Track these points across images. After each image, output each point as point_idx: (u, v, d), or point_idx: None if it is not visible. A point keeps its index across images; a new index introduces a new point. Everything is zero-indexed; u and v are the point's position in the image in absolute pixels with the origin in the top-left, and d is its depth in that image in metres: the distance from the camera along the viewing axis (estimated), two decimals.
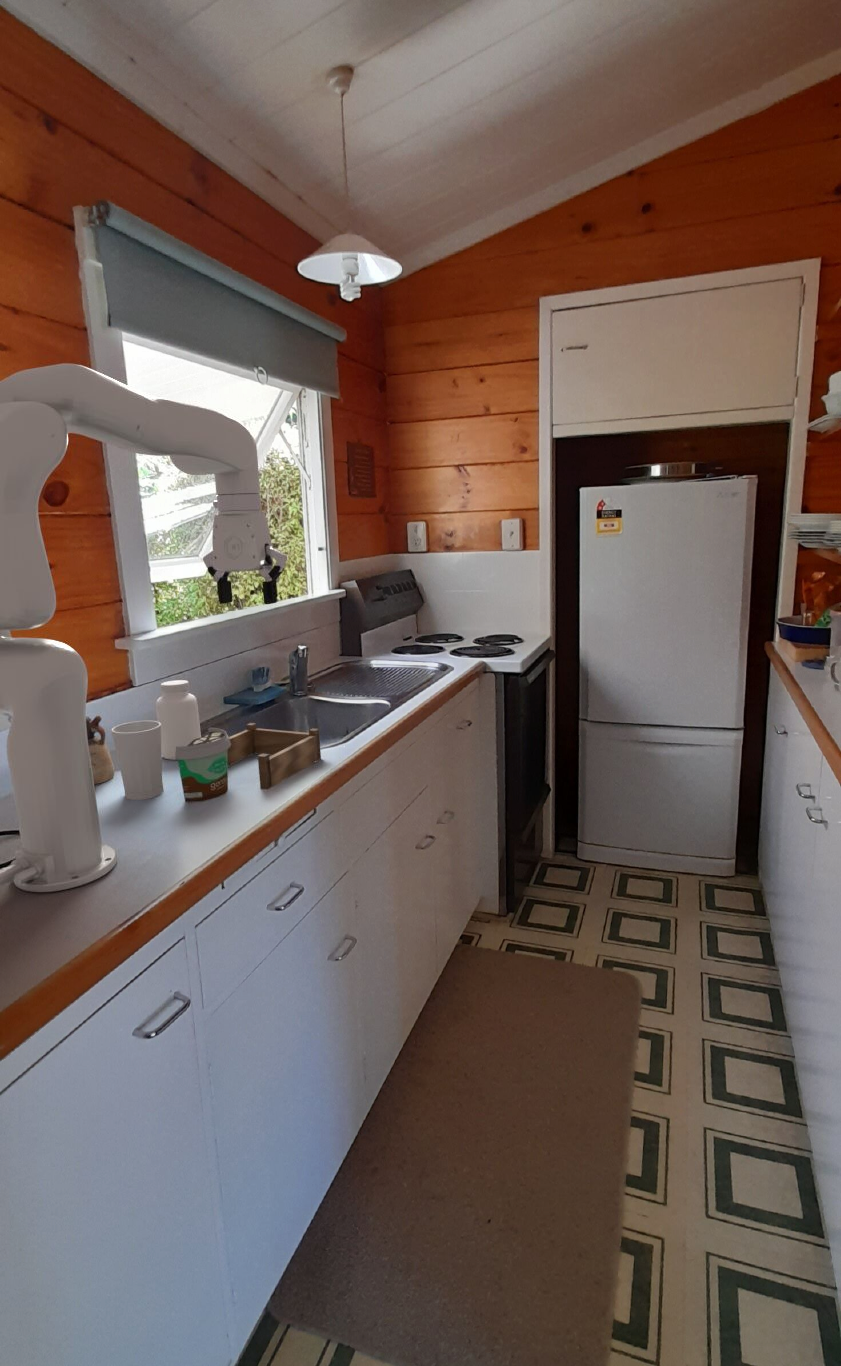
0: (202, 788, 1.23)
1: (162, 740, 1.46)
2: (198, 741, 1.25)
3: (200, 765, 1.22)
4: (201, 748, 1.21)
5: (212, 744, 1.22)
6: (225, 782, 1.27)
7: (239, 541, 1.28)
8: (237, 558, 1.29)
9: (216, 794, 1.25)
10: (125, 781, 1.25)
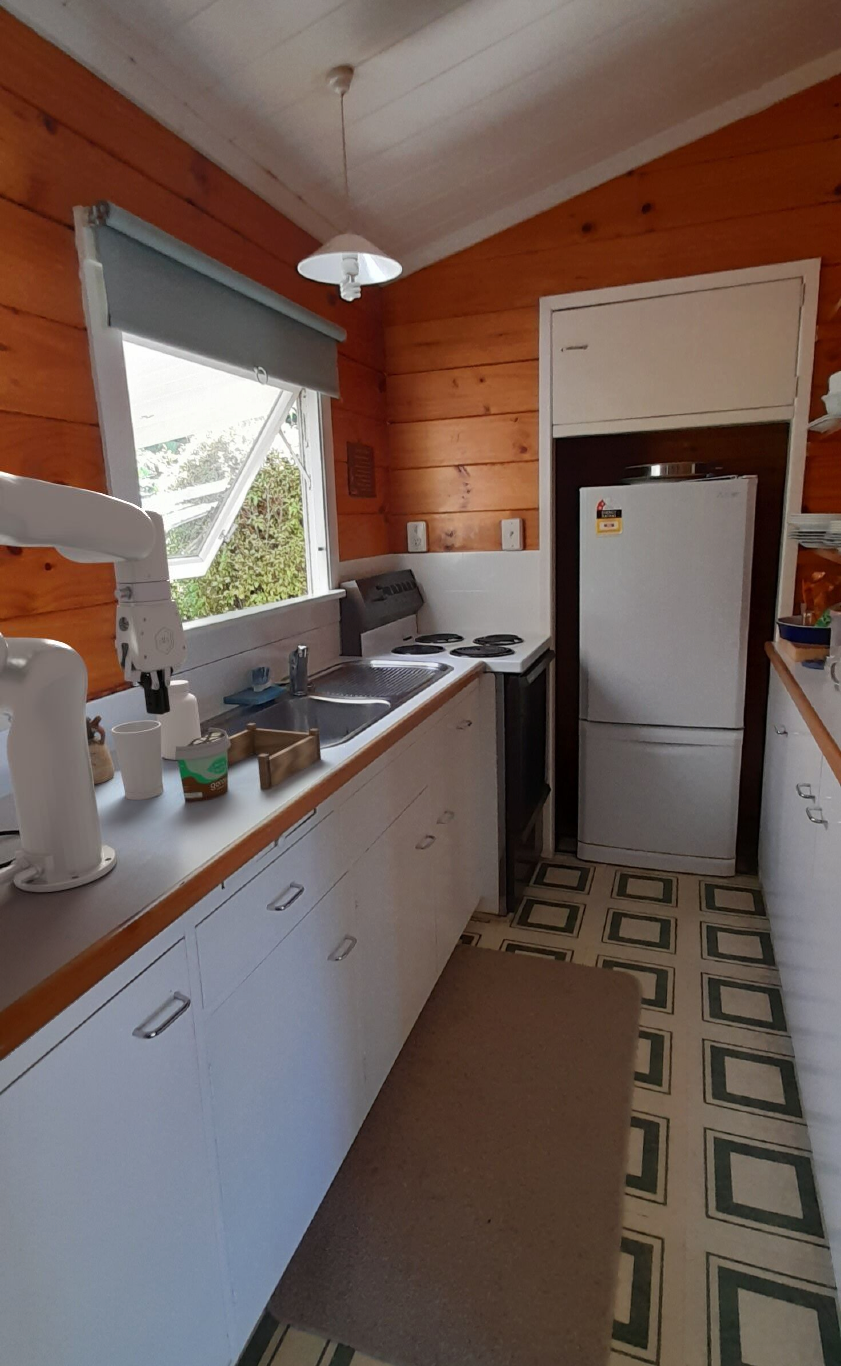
0: (202, 788, 1.23)
1: (162, 740, 1.46)
2: (198, 741, 1.25)
3: (200, 765, 1.22)
4: (201, 748, 1.21)
5: (212, 744, 1.22)
6: (225, 782, 1.27)
7: (170, 633, 1.11)
8: (169, 652, 1.11)
9: (216, 794, 1.25)
10: (125, 781, 1.25)
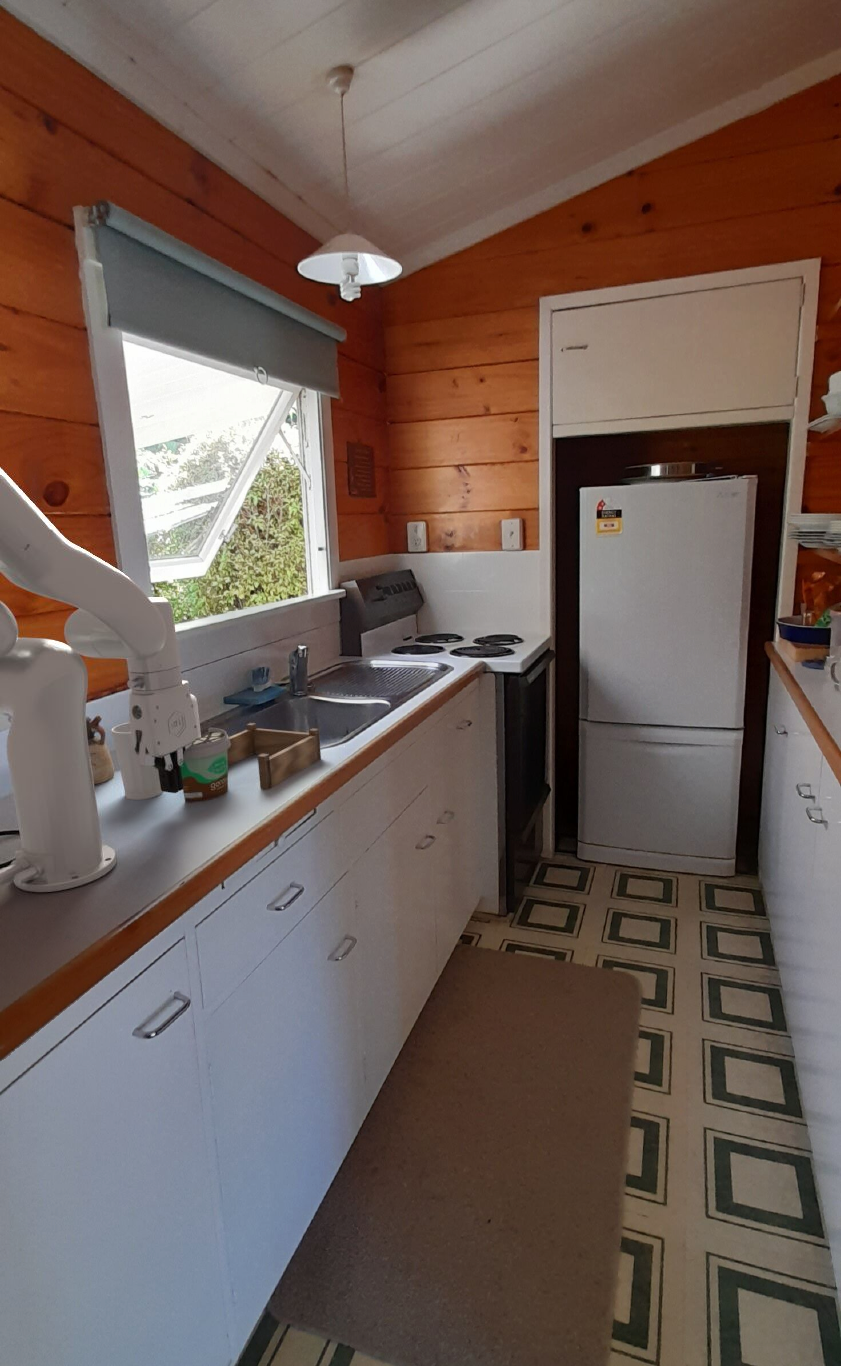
0: (202, 788, 1.23)
1: None
2: (198, 741, 1.25)
3: (200, 765, 1.22)
4: (201, 748, 1.21)
5: (212, 744, 1.22)
6: (225, 782, 1.27)
7: (182, 715, 1.15)
8: (181, 734, 1.15)
9: (216, 794, 1.25)
10: (125, 781, 1.25)
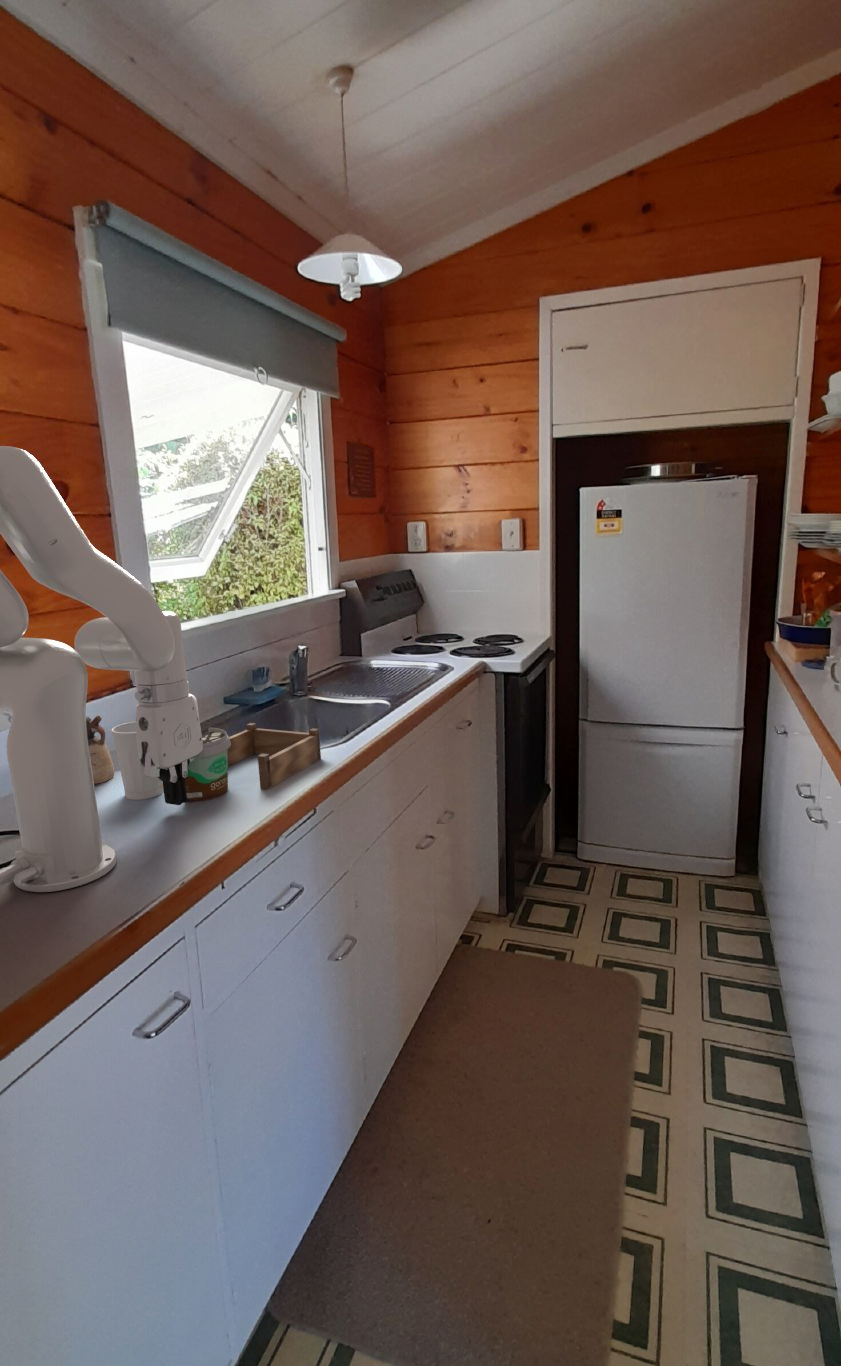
0: (202, 788, 1.23)
1: None
2: None
3: (200, 765, 1.22)
4: None
5: (212, 744, 1.22)
6: (225, 782, 1.27)
7: (187, 728, 1.16)
8: (186, 747, 1.16)
9: (216, 794, 1.25)
10: (125, 781, 1.25)
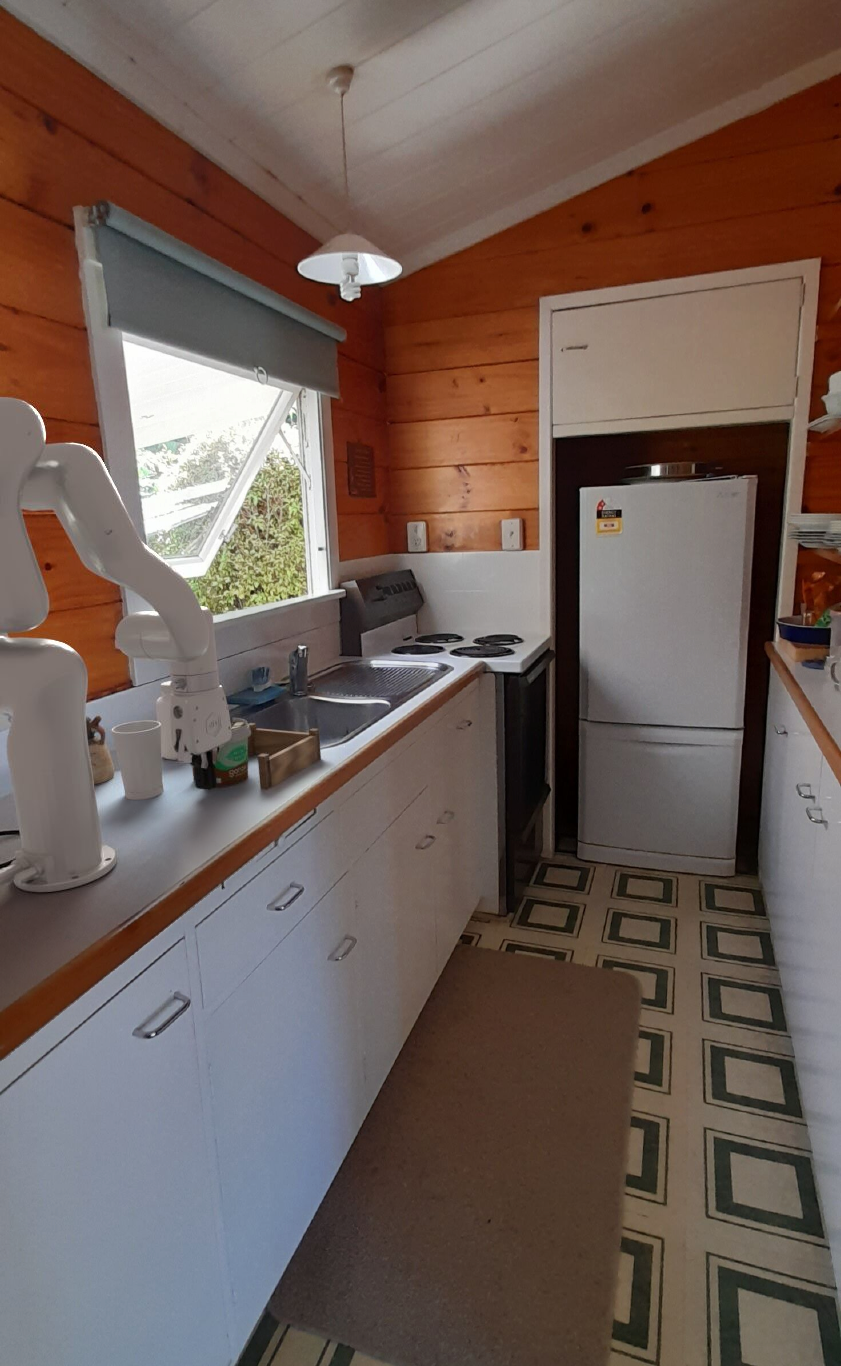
0: (221, 775, 1.29)
1: (162, 740, 1.46)
2: None
3: (219, 752, 1.28)
4: None
5: None
6: (244, 770, 1.33)
7: (218, 717, 1.23)
8: (217, 734, 1.23)
9: (235, 781, 1.31)
10: (125, 781, 1.25)
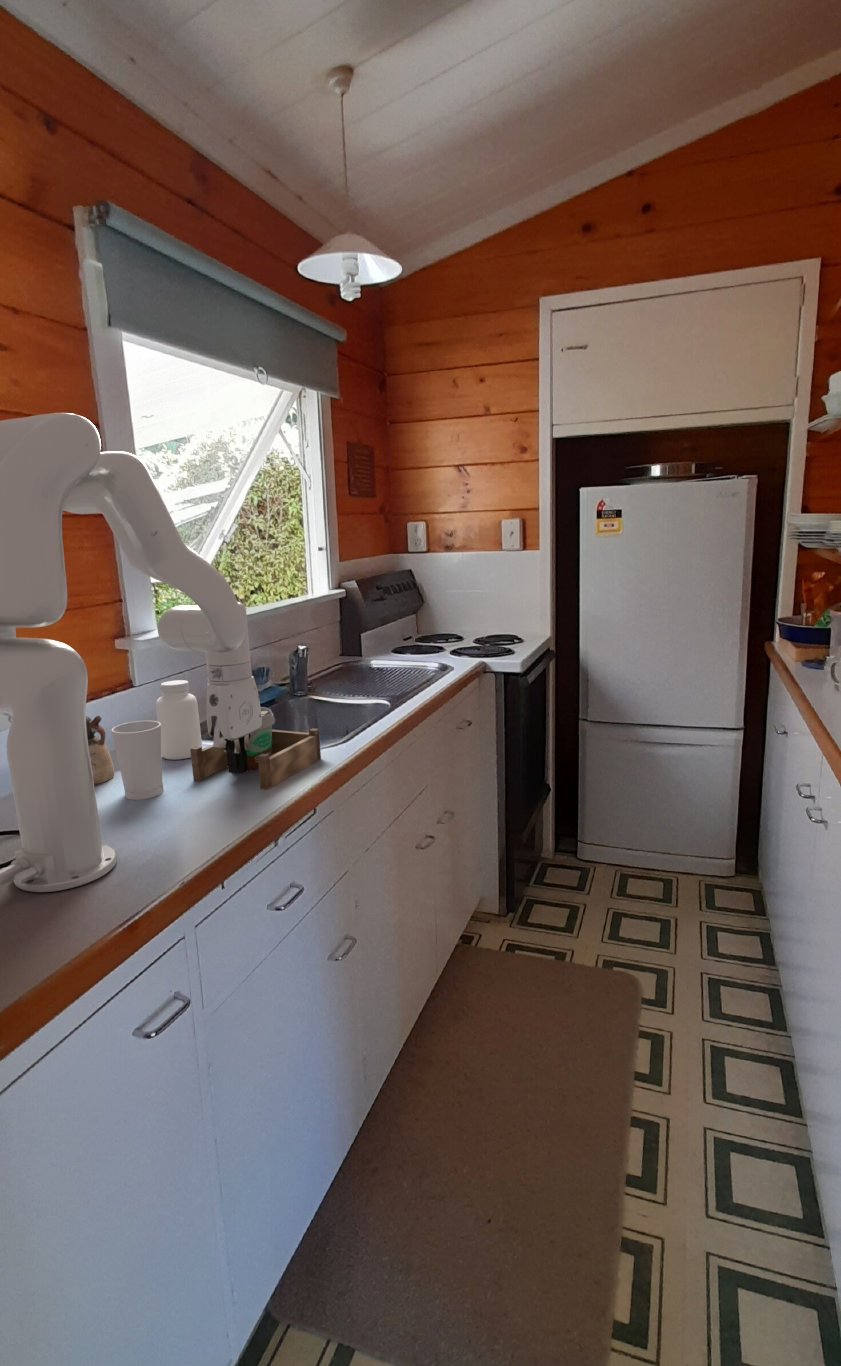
0: (247, 760, 1.37)
1: (162, 740, 1.46)
2: None
3: None
4: None
5: None
6: (269, 756, 1.41)
7: (250, 705, 1.31)
8: (249, 722, 1.31)
9: None
10: (125, 781, 1.25)
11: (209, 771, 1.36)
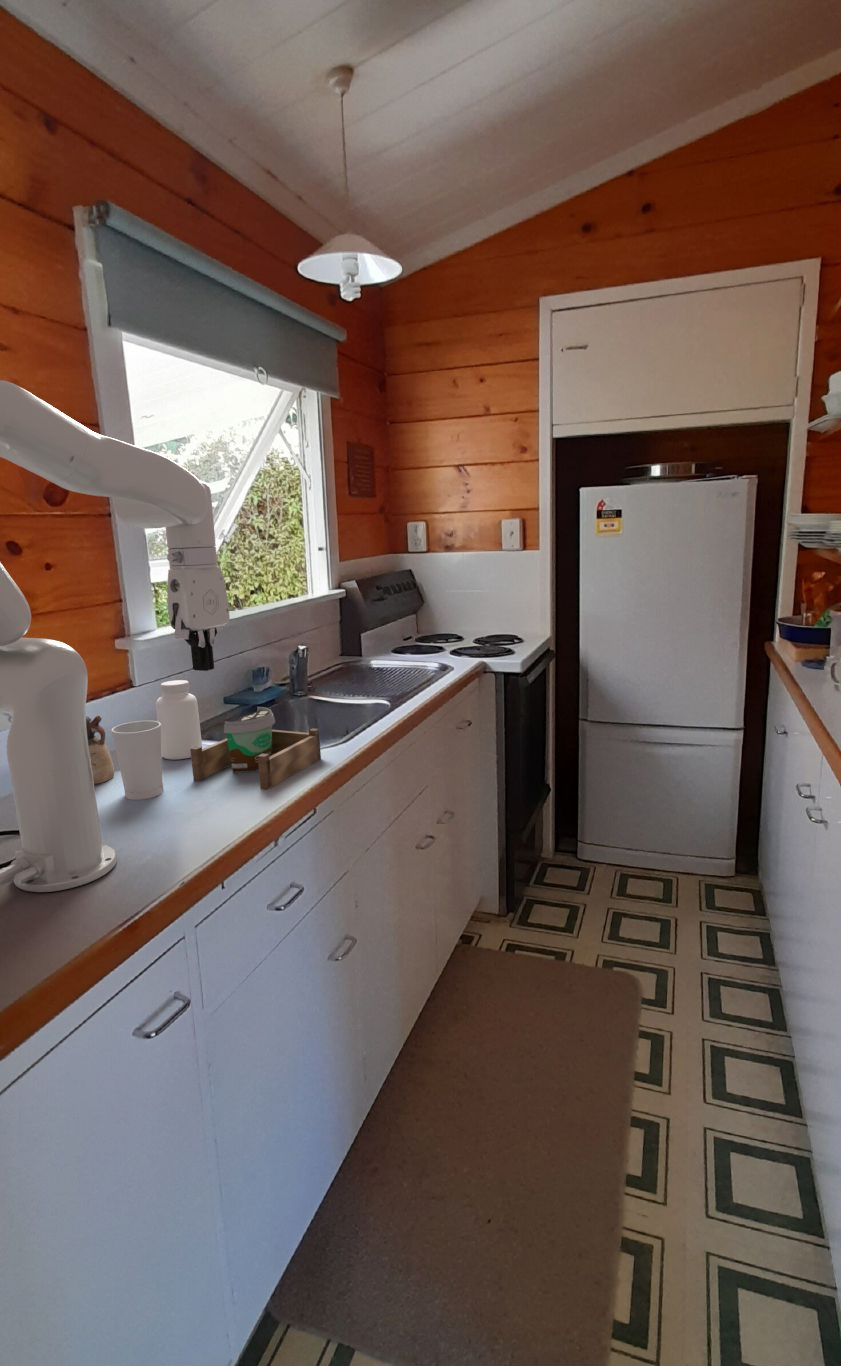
0: (247, 760, 1.37)
1: (162, 740, 1.46)
2: (245, 717, 1.40)
3: (245, 739, 1.36)
4: (246, 724, 1.35)
5: (257, 721, 1.36)
6: (269, 756, 1.41)
7: (216, 596, 1.22)
8: (214, 613, 1.21)
9: None
10: (125, 781, 1.25)
11: (209, 771, 1.36)
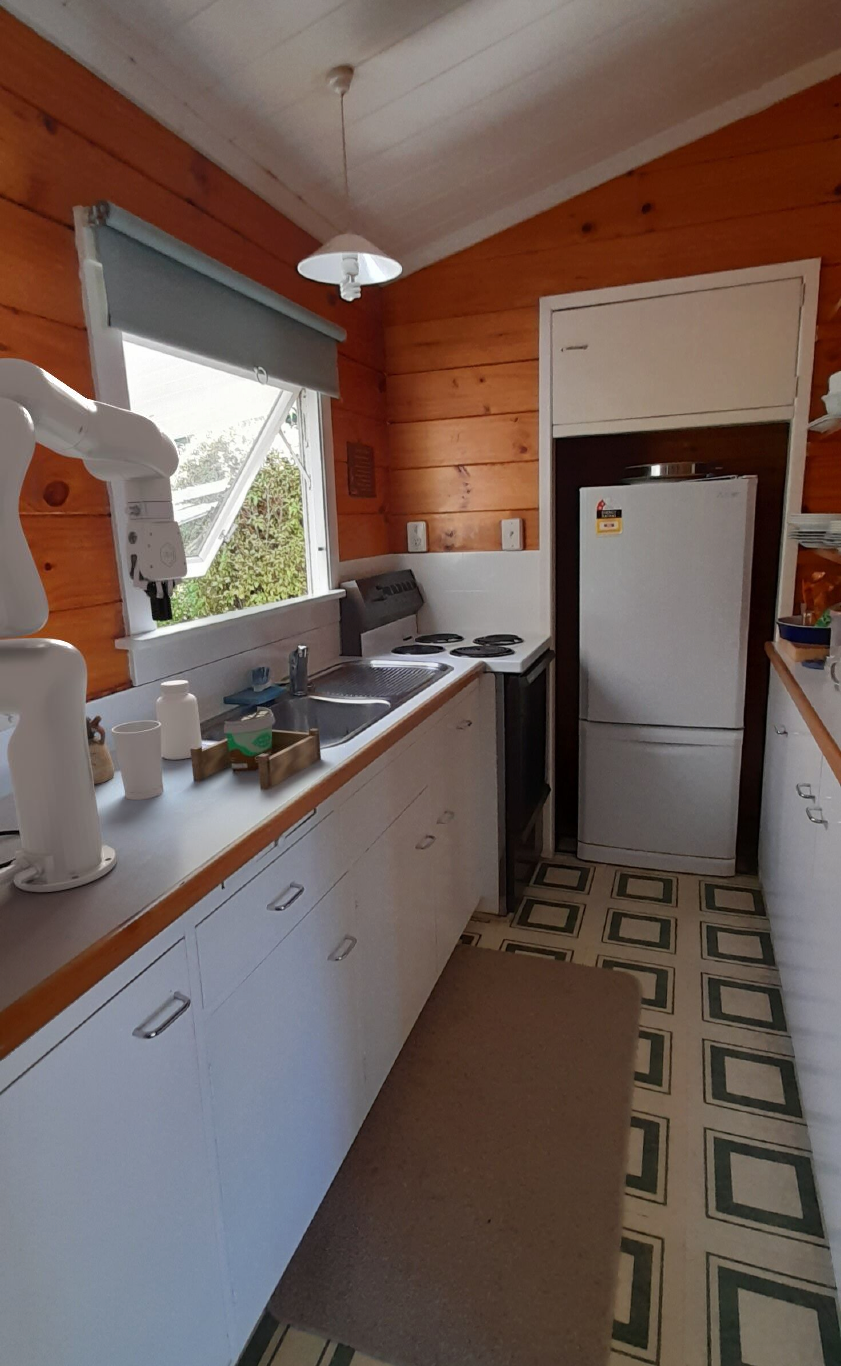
0: (247, 760, 1.37)
1: (162, 740, 1.46)
2: (245, 717, 1.40)
3: (245, 739, 1.36)
4: (246, 724, 1.35)
5: (256, 721, 1.36)
6: (269, 756, 1.41)
7: (173, 549, 1.28)
8: (171, 566, 1.28)
9: None
10: (125, 781, 1.25)
11: (209, 771, 1.36)
